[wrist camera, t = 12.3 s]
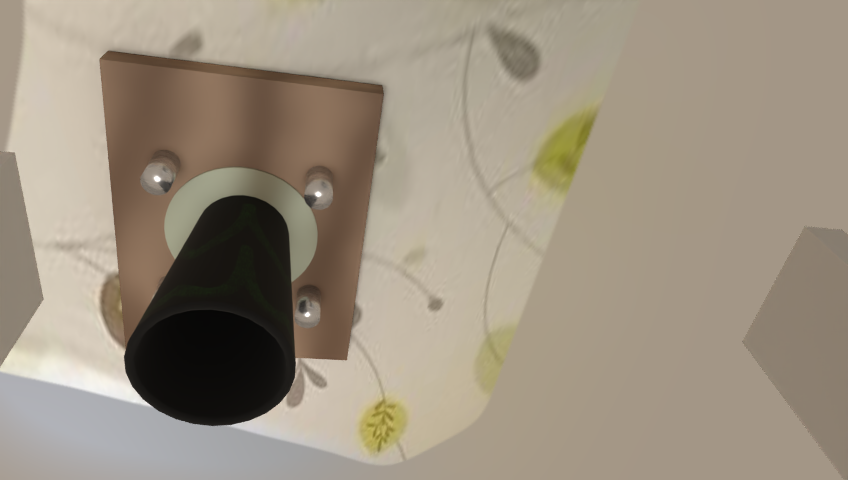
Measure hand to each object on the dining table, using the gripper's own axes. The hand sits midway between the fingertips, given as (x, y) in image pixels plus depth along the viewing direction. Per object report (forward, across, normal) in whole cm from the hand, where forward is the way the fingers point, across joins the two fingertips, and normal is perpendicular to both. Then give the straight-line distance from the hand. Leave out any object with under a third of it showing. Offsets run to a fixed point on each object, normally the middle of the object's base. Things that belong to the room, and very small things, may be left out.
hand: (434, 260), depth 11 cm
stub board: (+27, -7, -17) cm, 33 cm away
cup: (+26, -7, -16) cm, 31 cm away
